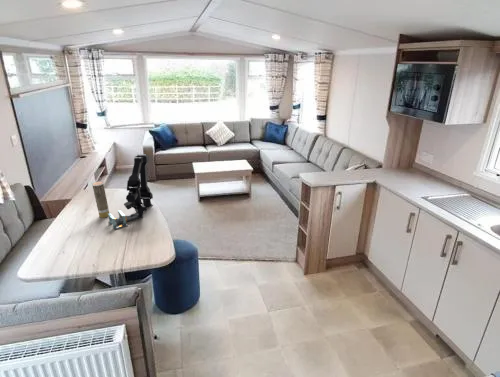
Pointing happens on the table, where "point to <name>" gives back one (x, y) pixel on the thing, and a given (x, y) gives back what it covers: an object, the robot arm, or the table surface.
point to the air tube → (127, 218)
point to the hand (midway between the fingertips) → (139, 216)
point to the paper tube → (101, 199)
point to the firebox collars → (112, 219)
